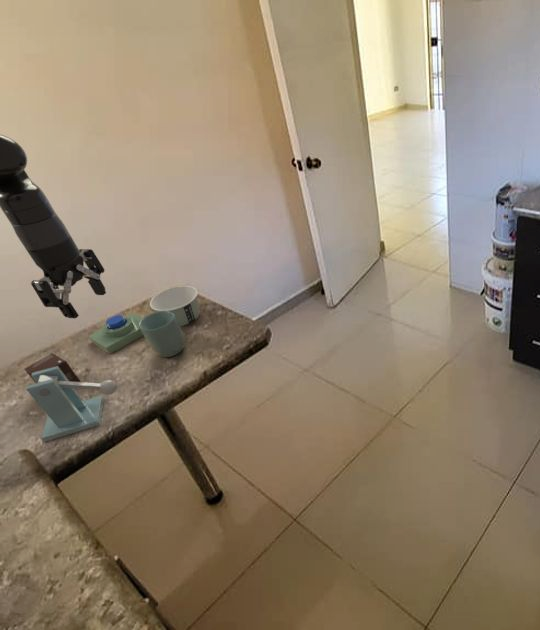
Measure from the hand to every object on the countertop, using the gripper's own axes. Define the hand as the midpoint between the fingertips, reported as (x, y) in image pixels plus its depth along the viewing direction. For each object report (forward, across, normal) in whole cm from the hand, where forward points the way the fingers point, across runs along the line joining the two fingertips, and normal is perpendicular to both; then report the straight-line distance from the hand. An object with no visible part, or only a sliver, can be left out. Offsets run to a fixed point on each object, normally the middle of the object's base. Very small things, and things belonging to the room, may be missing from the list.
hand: (87, 305), depth 95 cm
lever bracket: (+18, +17, 0) cm, 25 cm away
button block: (+18, -11, -8) cm, 23 cm away
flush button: (+15, -11, -8) cm, 20 cm away
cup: (+19, -6, +9) cm, 21 cm away
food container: (+19, -20, +3) cm, 28 cm away
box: (+18, +8, -10) cm, 23 cm away
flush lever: (+11, +15, +3) cm, 19 cm away
